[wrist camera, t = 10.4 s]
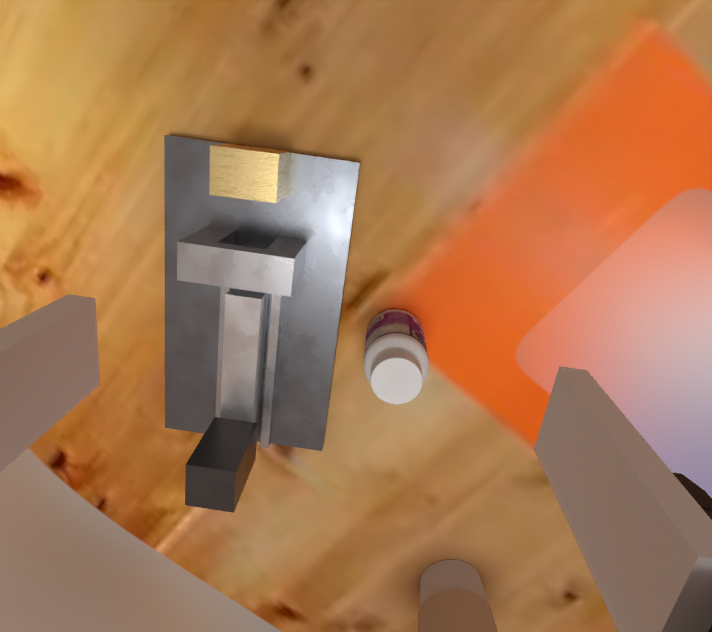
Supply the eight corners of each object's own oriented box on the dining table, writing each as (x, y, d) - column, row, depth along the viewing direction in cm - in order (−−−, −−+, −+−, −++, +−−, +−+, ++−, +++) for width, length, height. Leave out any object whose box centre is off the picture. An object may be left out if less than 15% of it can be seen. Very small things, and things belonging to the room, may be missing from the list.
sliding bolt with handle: (262, 440, 50) (233, 512, 41) (223, 435, 50) (185, 505, 41) (274, 289, 44) (244, 331, 35) (230, 282, 44) (188, 323, 35)
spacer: (229, 187, 42) (230, 143, 41) (288, 195, 42) (291, 151, 40) (209, 194, 37) (209, 145, 36) (276, 203, 37) (278, 153, 36)
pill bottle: (427, 355, 47) (437, 408, 38) (372, 364, 48) (369, 418, 39) (418, 302, 46) (426, 344, 36) (361, 312, 46) (355, 356, 37)
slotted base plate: (323, 443, 51) (313, 493, 44) (170, 421, 52) (135, 466, 45) (360, 162, 42) (354, 168, 35) (170, 134, 42) (126, 135, 35)
